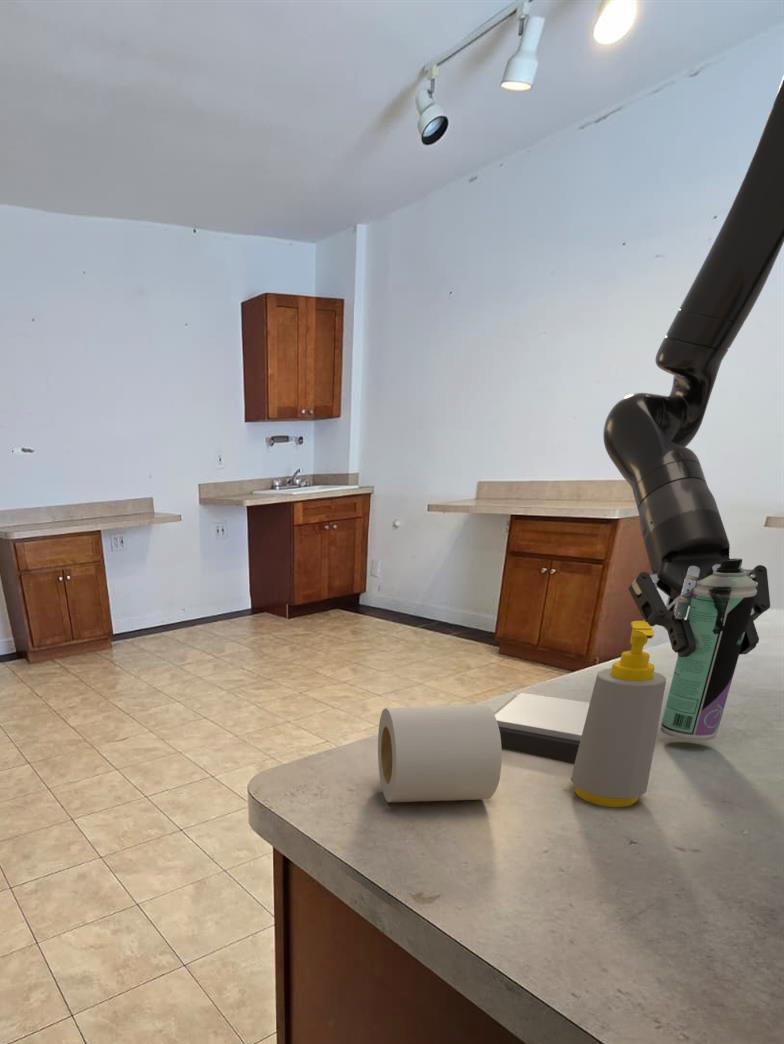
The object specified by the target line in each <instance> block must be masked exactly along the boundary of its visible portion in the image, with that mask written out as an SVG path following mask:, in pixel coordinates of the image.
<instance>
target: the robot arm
mask: <svg viewBox="0 0 784 1044" xmlns="http://www.w3.org/2000/svg"><path fill="white" fill-rule="evenodd" d="M783 245H784V76H783V77H782V79H781V83H780V84H779V88H778V91H777V93H776V96H775V99H774V101H773V104H772V107H771V109H770V112H769V115H768V117H767V119H766V121H765V126H764V128H763V130H762V133H761V136H760V139H759V141H758V144H757V146H756V149H755V151H754V154H753V156H752V159H751V161H750V163H749V166H748V169H747V170H746V173H745V175H744V177H743V180H742V182H741V184H740V187H739V188H738V192H737V193H736V196H735V198H734V200H733V202H732V204H731V207H730V209H729V211H728V213H727V215H726V217H725V219H724V222H723V224H722V226H721V228H720V229H719V231H718V233H717V235H716V238H715V239H714V241H713V244H712V245H711V247H710V249H709V251H708V253H707V255H706V257H705V259H704V261H703V263H702V264H701V266H700V269H699V270H698V273H697V274H696V276H695V277H694V280H693V282H692V283H691V286H690V288H689V289H688V292H687V293H686V295H685V297H684V299H683V301H682V303H681V304H680V307H679V309H678V311H677V312H676V314H675V317H674V318H673V320H672V322H671V324H670V326H669V328H668V330H667V332H666V333H665V334H666V335H665V336H664V338H663V339H662V342H661V344H660V346H659V348H658V350H657V352H656V355H655V360H654V361H655V365H656V367H658V369H660V370H662V371H663V372H666V373H668V374H670V375H672V376H673V379H672V386H671V390H670V393H669V395H664V394H657V393H648V392H635V393H632V394H629V395H626V396H625V397H622V399H620V400H618V402H616V403H615V405H613V407H612V408H611V409H610V411H609V412H608V415H607V416H606V419H605V422H604V425H603V436H602V438H603V444H604V449H605V451H606V453H607V455H608V457H609V458H610V460H611V461H612V463H613V464H614V467H616V469H617V471H619V473H620V474H621V476H622V478H623V479H624V480H625V481H626V482H627V483H628V485H629V486H630V487H631V489H632V493H633V497H634V501H635V504H636V508H637V511H638V517H639V518H638V519H639V529H640V532H641V536H642V541H643V543H644V546H645V551H646V555H647V558H648V561H649V562H648V563H649V566H650V570H651V572H652V574H650V573H648V572H646V571H641V572H640V573H639V574H638V575H637V576H636V577H635V579H634V580H633V581H632V582H631V583H630V585H629V586H628V590H629V593H630V595H631V597H632V599H633V601H634V603H635V605H636V607H637V610H638V611H639V613H640V616H641V617H642V619H643V621H645V622H647V623H648V624H649V625H650V627H655V626H660V627H662V628H663V629H665V630H666V632H667V635H668V638H669V642H670V646H671V648H672V651H673V652H674V653H675V654H676V653H677V657H678V656H679V657H688V656H689V655H690V654H691V653H693V652H694V651H695V649H696V643H695V639H694V636H693V632H692V629H691V626H690V623H689V620H687V619H685V618H687V616H688V612H689V607H690V604H691V600H692V595H693V591H694V588H695V587H697V585H696V584H697V581H699V580H703V579H704V578H706V577H708V576H710V575H713V571H715V570H717V568H719V567H720V566H721V563H722V561H725V560H728V559H731V558H730V548H731V547H730V545H731V544H730V540H729V538H728V535H727V532H726V528H725V526H724V523H723V520H722V517H721V513H720V511H719V508H718V507H719V506H718V504H717V501H716V499H715V496H714V494H713V493H712V491H711V489H710V488H709V486H708V483H707V480H706V477H705V474H704V471H703V468H702V465H701V462H700V459H699V457H698V455H697V454H696V453H695V452H694V451H693V450H692V449H690V448H689V447H687V446H689V444H691V442H692V441H693V440H694V438H695V436H696V435H697V433H698V432H699V429H701V425H702V423H703V420H704V417H705V414H706V410H707V407H708V404H709V401H710V398H711V395H712V392H713V389H714V385H715V383H716V380H717V376H718V373H719V370H720V366H721V364H722V362H723V360H724V358H725V356H726V355H727V353H728V351H729V349H730V348H731V346H732V344H733V343H734V342H735V340H736V338H737V336H738V334H739V332H740V331H741V329H742V327H743V326H744V324H745V322H746V320H747V319H748V317H749V315H750V313H751V312H752V310H753V308H754V306H755V304H756V303H757V300H758V299H759V297H760V295H761V293H762V291H763V289H764V287H765V285H766V283H767V280H768V278H769V276H770V274H771V271H772V269H773V267H774V265H775V263H776V260H777V258H778V256H779V253H780V252H781V249H782V247H783ZM743 571H746V574H745V575H746V576H747V577H749V578H750V579H752V580H753V581H755V582H757V583H758V585H757V587H755V588H756V590H757V593H756V597H755V600H754V604H753V607H752V611H751V614H750V618H749V622H748V625H747V629H746V632H745V636H744V639H743V643H742V646H741V650H740V653H739V656H740V655H741V656H742V655H747V654H749V653H750V652H752V651H753V650H754V649H755V648H756V647H757V644H759V642H760V637H759V634H758V631H757V628H756V625H755V621H756V620H757V619H758V618H759V617H760V616H761V615H762V614H763V613H765V612H766V611H768V610H769V609H770V608H771V597H770V587H769V586H770V585H769V579H768V577H769V576H768V569H767V567H766V566H764V565H762V564H758V565H756V566H755V567H754V568H753V569H748V568H747V569H746V568H743ZM658 589H659V590H660V591H661V592H663V593H664V594H665V595H666V596H667V600H666V603H665V602H664V600H663V598H662V596H661V593H660V592H659V590H658Z"/></svg>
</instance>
